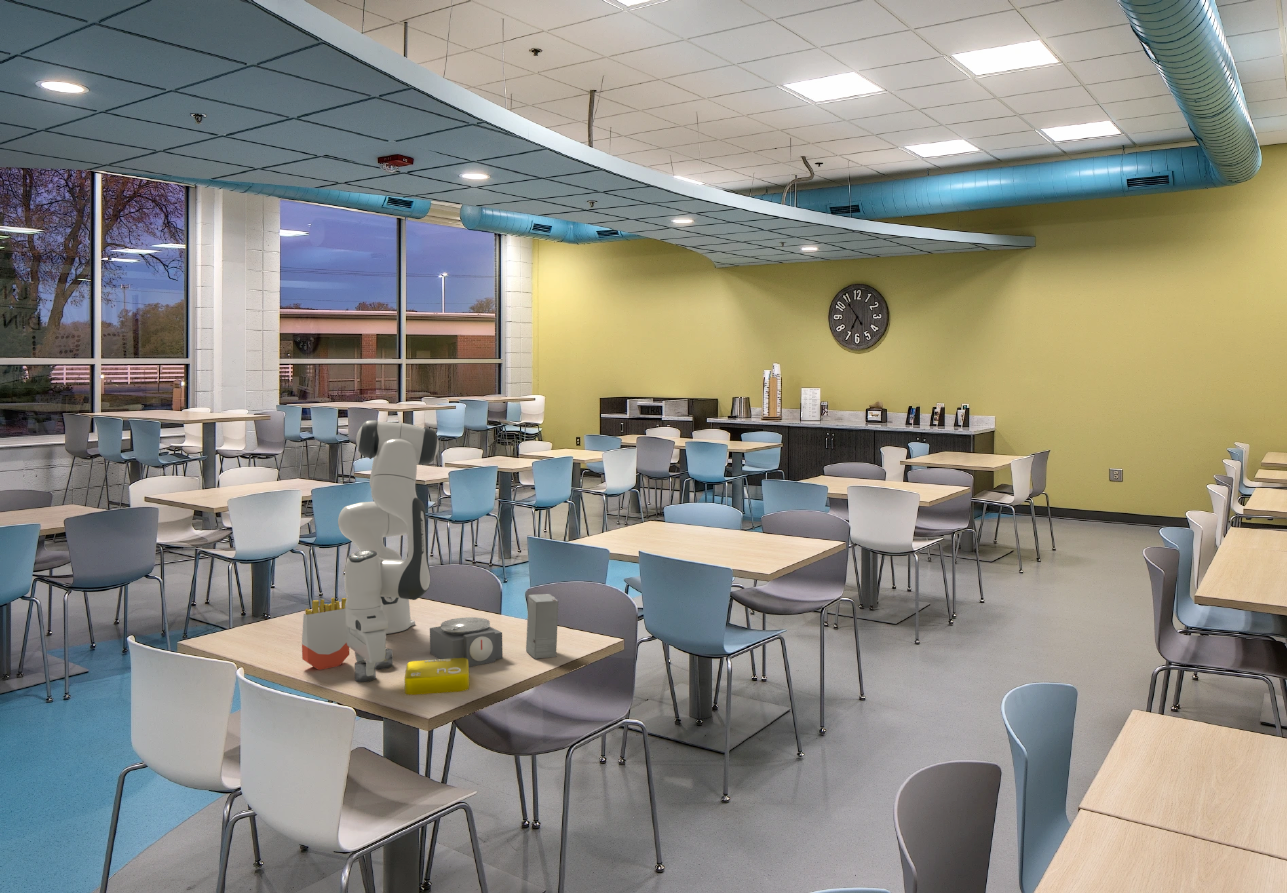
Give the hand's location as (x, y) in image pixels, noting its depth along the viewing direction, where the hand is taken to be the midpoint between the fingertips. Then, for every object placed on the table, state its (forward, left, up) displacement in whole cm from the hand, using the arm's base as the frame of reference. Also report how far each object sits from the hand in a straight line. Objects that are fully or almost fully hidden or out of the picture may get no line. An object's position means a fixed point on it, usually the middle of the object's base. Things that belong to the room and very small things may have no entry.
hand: (365, 671), depth 222 cm
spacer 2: (-8, +7, -2) cm, 11 cm away
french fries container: (-17, -5, -2) cm, 18 cm away
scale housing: (-3, +29, -2) cm, 29 cm away
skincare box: (+7, +46, -2) cm, 47 cm away
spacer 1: (0, 0, -2) cm, 2 cm away
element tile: (+14, +13, -2) cm, 19 cm away
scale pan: (-4, +29, +6) cm, 29 cm away
